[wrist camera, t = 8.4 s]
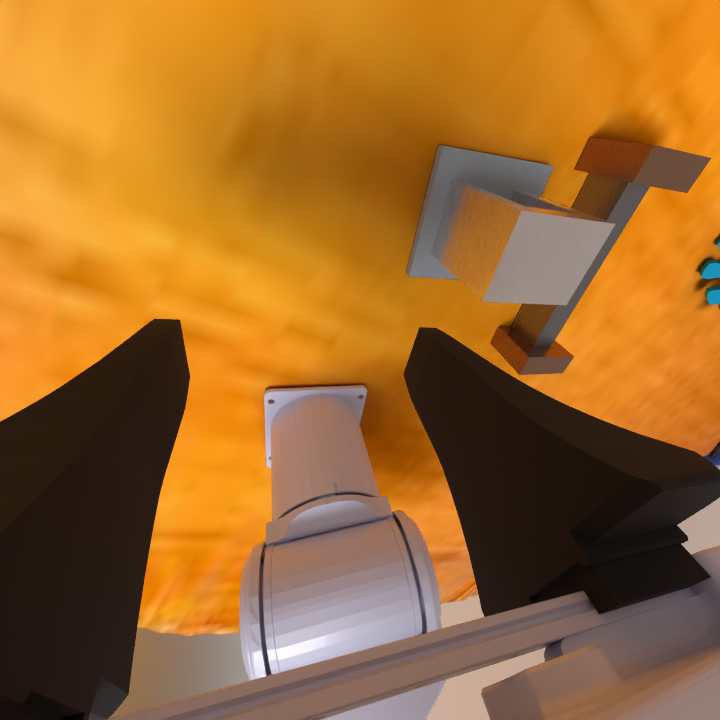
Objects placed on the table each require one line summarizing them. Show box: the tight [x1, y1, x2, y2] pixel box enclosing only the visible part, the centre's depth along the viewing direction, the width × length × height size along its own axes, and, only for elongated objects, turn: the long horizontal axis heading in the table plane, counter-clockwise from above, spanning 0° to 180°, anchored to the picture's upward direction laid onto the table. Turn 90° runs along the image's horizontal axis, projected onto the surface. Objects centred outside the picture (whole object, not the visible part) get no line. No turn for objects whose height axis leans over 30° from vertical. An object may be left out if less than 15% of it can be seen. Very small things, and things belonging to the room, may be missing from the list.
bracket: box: [431, 180, 615, 305], centre depth 17 cm, size 4×5×6 cm
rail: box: [491, 137, 711, 375], centre depth 22 cm, size 14×4×4 cm, turn 171°
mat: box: [406, 145, 554, 279], centre depth 20 cm, size 7×7×1 cm
